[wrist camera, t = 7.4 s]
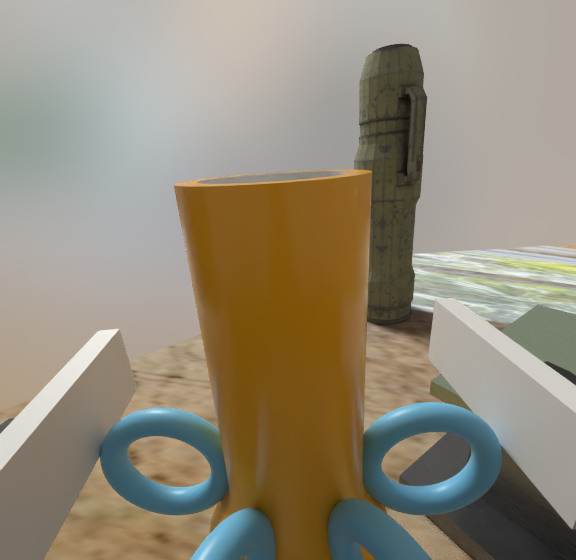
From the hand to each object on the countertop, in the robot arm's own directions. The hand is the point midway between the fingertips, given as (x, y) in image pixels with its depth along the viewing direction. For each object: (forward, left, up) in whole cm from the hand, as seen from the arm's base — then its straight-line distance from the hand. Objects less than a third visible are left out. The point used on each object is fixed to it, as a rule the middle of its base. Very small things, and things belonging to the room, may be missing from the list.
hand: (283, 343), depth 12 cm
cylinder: (+3, -2, -9) cm, 10 cm away
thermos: (-21, +31, -17) cm, 41 cm away
